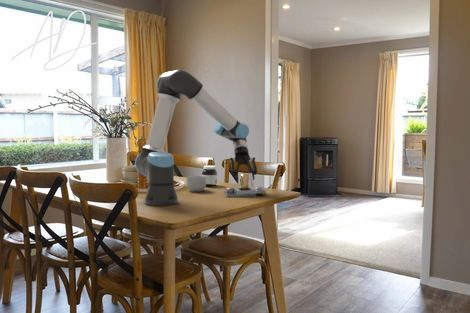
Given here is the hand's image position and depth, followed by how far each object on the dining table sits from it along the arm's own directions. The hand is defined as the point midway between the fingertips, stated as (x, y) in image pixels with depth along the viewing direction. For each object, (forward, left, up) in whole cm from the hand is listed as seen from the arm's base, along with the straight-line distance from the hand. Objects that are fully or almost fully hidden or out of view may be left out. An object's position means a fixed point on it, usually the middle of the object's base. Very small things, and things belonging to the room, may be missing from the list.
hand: (246, 184), depth 209 cm
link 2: (+2, +4, -6) cm, 7 cm away
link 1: (-3, +4, -6) cm, 7 cm away
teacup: (-24, +21, -6) cm, 32 cm away
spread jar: (-17, +37, -6) cm, 41 cm away
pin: (0, +4, -6) cm, 7 cm away
